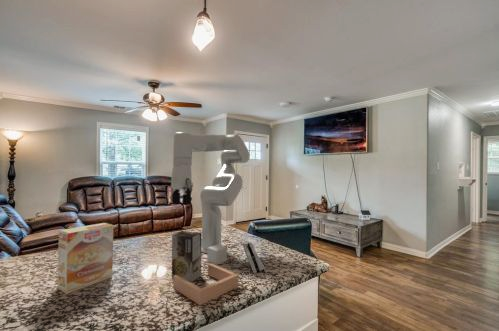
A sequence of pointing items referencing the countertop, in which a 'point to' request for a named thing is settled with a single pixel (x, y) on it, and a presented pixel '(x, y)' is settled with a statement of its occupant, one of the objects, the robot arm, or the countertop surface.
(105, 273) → the coffeecake box
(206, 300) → the bracket
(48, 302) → the countertop surface
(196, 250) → the coffee box
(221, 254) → the light grey cube
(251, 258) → the grey game console
